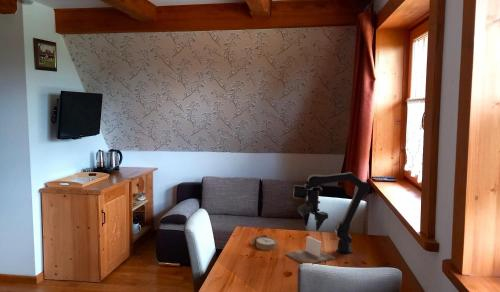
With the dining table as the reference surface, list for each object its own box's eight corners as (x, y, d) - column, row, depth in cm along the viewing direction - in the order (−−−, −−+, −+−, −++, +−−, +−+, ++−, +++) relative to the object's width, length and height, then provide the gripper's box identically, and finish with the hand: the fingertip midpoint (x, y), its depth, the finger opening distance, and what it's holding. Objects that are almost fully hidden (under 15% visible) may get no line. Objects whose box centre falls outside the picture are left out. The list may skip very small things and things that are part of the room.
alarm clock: (266, 246, 201) (248, 234, 212) (264, 255, 202) (247, 242, 213) (281, 242, 208) (263, 230, 219) (280, 250, 209) (262, 238, 220)
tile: (308, 236, 200) (307, 236, 199) (321, 242, 191) (320, 242, 191) (307, 249, 200) (305, 249, 200) (320, 255, 192) (318, 256, 191)
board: (313, 249, 206) (313, 247, 206) (334, 259, 193) (334, 257, 193) (285, 254, 197) (285, 253, 197) (305, 266, 183) (306, 263, 183)
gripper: (289, 196, 206) (288, 225, 207) (312, 204, 190) (311, 235, 191) (306, 194, 211) (304, 222, 213) (329, 202, 195) (328, 232, 197)
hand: (311, 228), depth 203 cm, fingers open, 9 cm apart
